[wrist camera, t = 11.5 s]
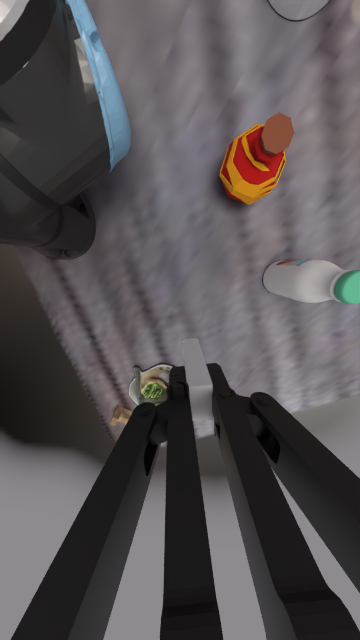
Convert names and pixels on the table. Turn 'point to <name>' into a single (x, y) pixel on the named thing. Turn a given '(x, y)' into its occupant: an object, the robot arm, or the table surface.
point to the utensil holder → (297, 8)
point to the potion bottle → (256, 159)
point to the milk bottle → (312, 281)
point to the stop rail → (121, 416)
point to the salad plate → (149, 385)
